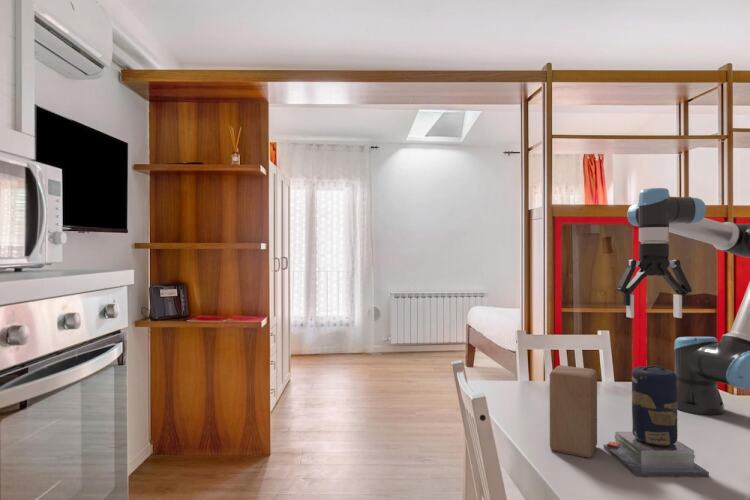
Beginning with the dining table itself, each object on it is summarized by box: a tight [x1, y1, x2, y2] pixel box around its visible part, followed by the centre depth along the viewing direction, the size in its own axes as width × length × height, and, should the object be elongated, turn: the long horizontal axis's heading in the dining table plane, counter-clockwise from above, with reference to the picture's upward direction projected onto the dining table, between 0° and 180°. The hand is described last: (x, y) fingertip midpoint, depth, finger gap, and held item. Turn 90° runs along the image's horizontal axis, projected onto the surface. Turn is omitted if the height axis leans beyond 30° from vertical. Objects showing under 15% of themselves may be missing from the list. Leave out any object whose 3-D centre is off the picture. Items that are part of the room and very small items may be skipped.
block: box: [549, 365, 598, 459], centre depth 125 cm, size 10×10×20 cm
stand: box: [603, 431, 710, 478], centre depth 118 cm, size 16×17×5 cm
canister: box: [631, 364, 678, 445], centre depth 118 cm, size 10×10×18 cm
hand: (653, 317), depth 140 cm, fingers open, 13 cm apart
